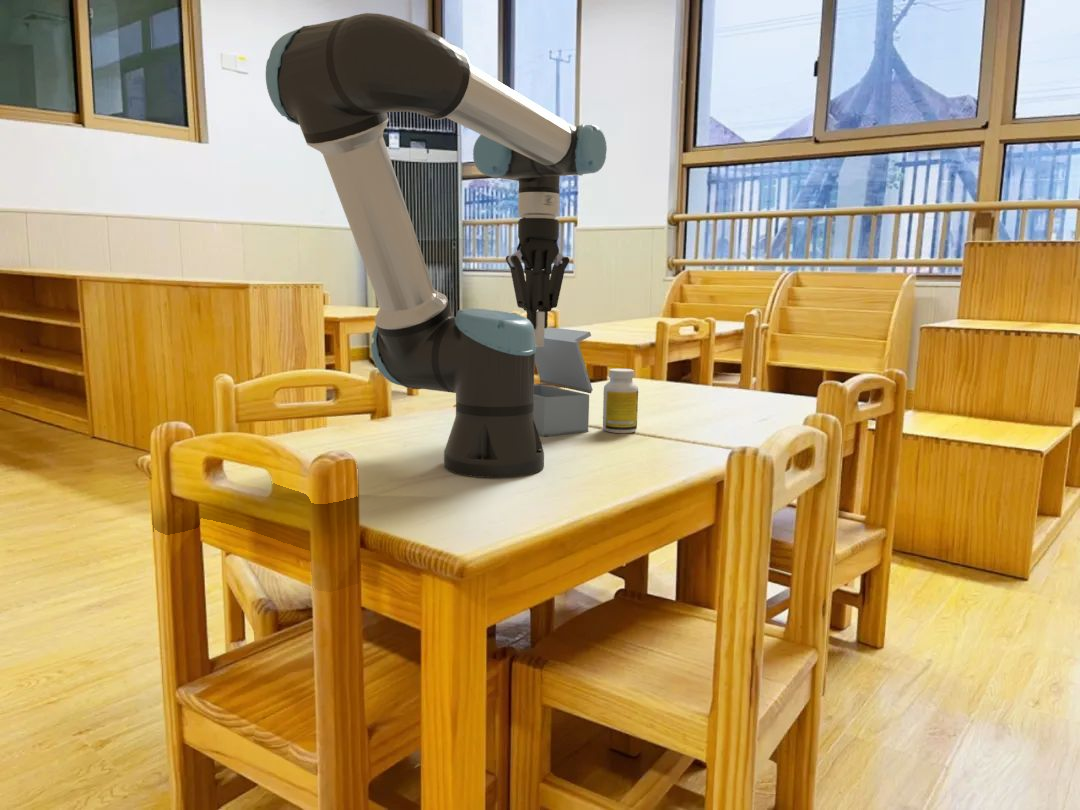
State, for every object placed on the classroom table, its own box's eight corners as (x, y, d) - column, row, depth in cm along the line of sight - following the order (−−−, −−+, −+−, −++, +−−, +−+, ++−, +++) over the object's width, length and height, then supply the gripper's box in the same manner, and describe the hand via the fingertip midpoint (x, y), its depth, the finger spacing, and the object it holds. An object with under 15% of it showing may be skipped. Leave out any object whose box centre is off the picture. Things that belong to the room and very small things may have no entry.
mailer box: (543, 436, 146) (544, 398, 145) (498, 422, 159) (499, 387, 158) (588, 431, 152) (589, 394, 151) (540, 418, 165) (541, 384, 164)
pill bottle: (638, 434, 150) (640, 372, 148) (603, 433, 150) (605, 371, 148) (635, 428, 156) (637, 368, 155) (601, 427, 157) (603, 367, 155)
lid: (574, 343, 147) (594, 332, 149) (524, 336, 160) (544, 326, 162) (589, 393, 150) (609, 382, 152) (540, 383, 164) (558, 372, 166)
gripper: (519, 215, 142) (518, 349, 146) (579, 218, 149) (576, 346, 153) (497, 217, 148) (496, 346, 152) (556, 220, 155) (553, 343, 159)
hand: (536, 346), depth 152 cm, fingers closed
